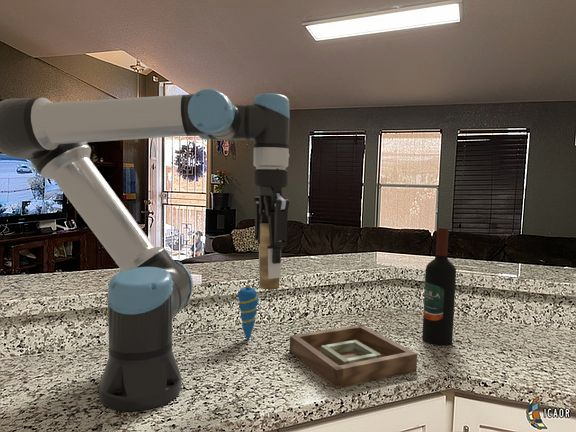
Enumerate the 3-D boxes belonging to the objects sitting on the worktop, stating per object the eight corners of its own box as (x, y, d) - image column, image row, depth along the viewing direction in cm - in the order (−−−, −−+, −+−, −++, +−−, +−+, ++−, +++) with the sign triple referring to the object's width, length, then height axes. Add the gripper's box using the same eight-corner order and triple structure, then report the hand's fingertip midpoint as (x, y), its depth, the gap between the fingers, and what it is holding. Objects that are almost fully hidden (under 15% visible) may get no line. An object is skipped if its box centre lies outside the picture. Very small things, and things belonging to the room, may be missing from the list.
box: (336, 389, 90) (336, 370, 89) (289, 351, 108) (289, 335, 108) (416, 371, 99) (417, 353, 99) (360, 339, 118) (361, 324, 117)
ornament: (248, 344, 112) (248, 286, 111) (233, 339, 115) (233, 282, 114) (261, 339, 116) (262, 282, 115) (246, 334, 119) (247, 279, 118)
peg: (264, 290, 95) (265, 225, 94) (256, 285, 99) (257, 223, 98) (282, 288, 97) (283, 224, 96) (274, 284, 101) (275, 222, 100)
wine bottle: (456, 346, 115) (463, 230, 112) (426, 345, 115) (432, 229, 112) (446, 335, 122) (452, 226, 119) (418, 334, 122) (424, 225, 120)
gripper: (305, 168, 90) (303, 282, 92) (270, 169, 105) (269, 266, 107) (271, 167, 86) (269, 286, 89) (240, 168, 102) (239, 269, 104)
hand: (269, 275), depth 98 cm, fingers closed on peg, 4 cm apart
